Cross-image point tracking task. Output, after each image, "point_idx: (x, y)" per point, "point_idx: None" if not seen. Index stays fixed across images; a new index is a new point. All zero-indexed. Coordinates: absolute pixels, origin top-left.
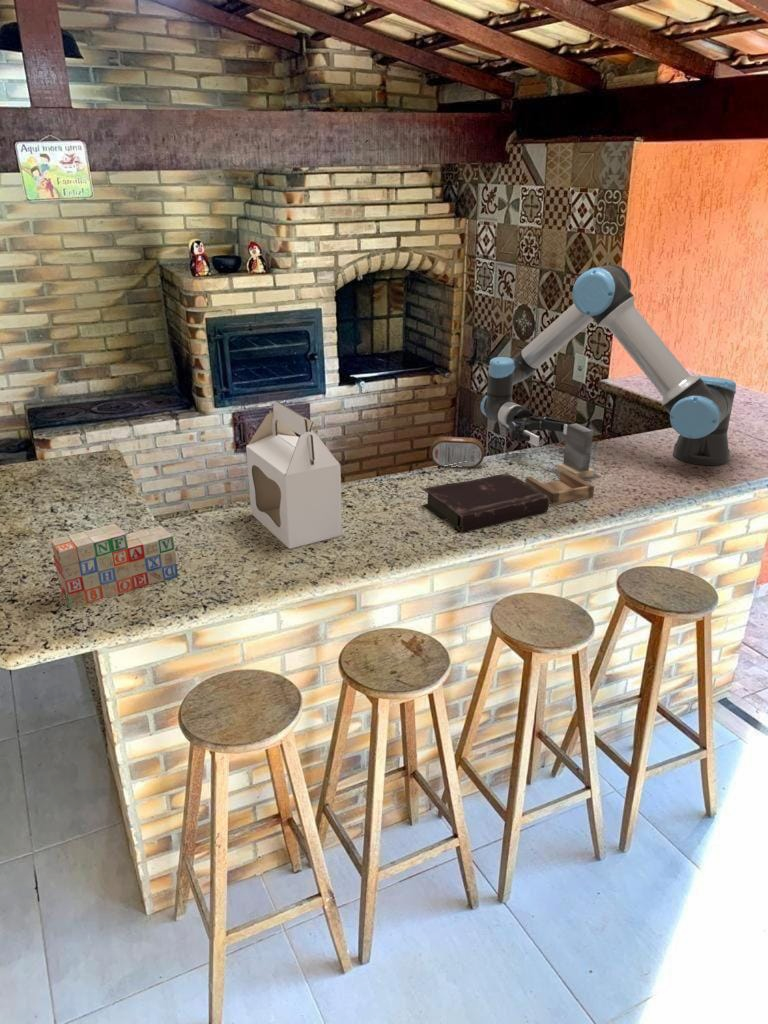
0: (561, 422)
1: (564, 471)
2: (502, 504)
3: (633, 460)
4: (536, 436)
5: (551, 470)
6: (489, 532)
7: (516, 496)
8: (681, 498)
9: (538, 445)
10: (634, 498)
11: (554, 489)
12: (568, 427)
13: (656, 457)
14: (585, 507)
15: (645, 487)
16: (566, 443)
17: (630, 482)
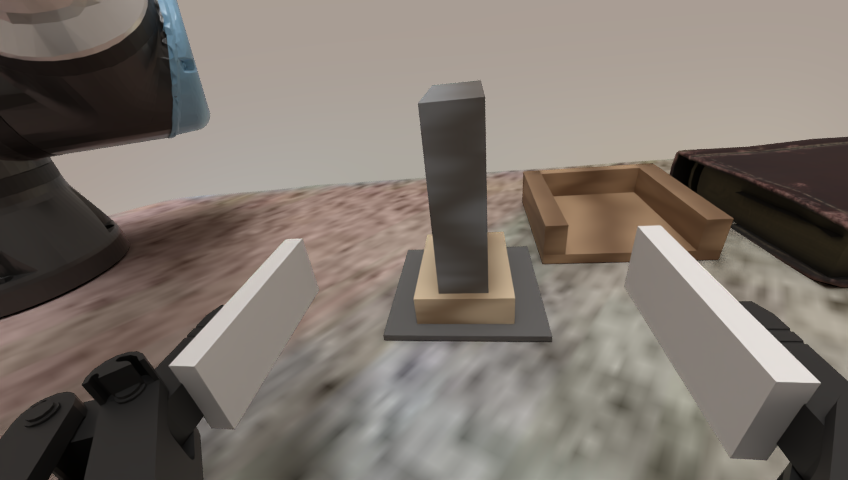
0: (91, 458)
1: (551, 222)
2: (829, 140)
3: (169, 314)
4: (663, 235)
5: (539, 332)
6: None
7: (782, 154)
8: (362, 182)
9: (628, 281)
10: None
11: (612, 223)
12: (484, 108)
13: (93, 308)
14: None
15: (367, 210)
16: (486, 199)
17: (367, 228)
